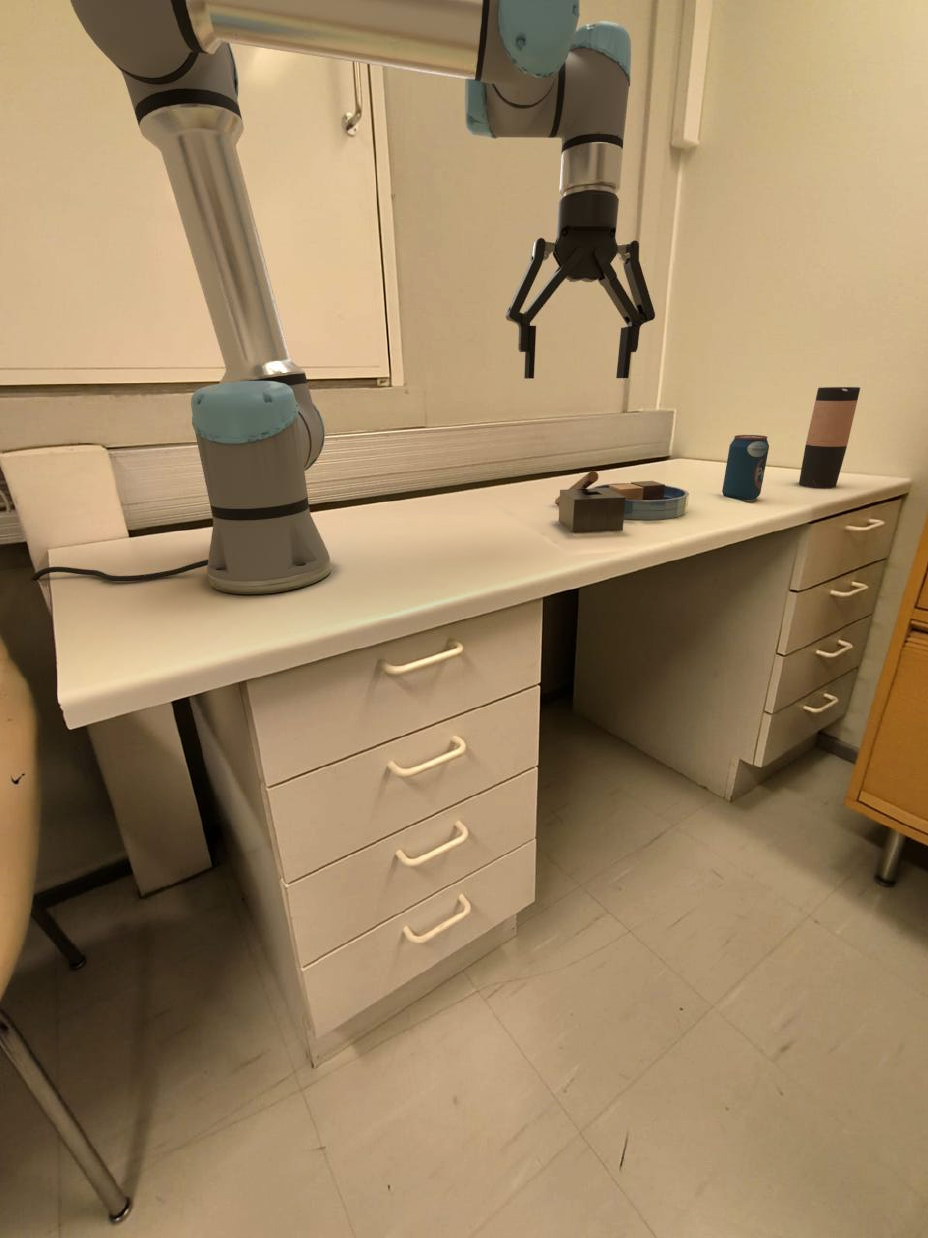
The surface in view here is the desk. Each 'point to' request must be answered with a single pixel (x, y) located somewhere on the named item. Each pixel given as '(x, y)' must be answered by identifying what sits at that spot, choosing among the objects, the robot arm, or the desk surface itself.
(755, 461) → the soda can
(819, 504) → the desk surface
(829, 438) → the travel mug
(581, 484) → the stirring stick
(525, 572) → the desk surface
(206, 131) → the robot arm
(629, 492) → the pine block
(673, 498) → the bowl
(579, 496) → the stand
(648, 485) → the walnut block
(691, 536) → the desk surface
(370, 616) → the desk surface
